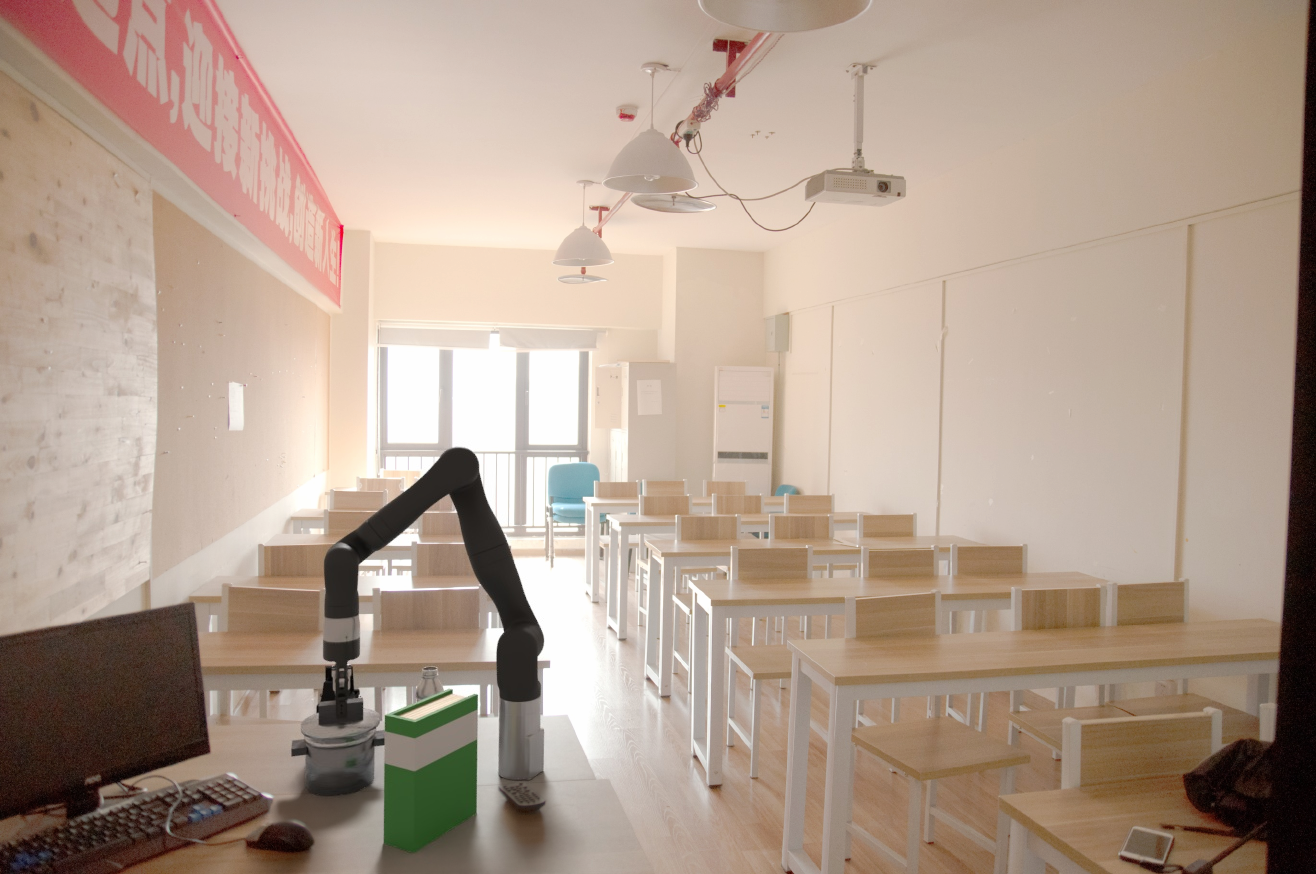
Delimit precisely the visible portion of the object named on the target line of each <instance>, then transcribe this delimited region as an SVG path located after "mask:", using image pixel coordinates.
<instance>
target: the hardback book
mask: <svg viewBox="0 0 1316 874" xmlns="http://www.w3.org/2000/svg"><path fill="white" fill-rule="evenodd" d="M453 690H454V689H452V688H448V689H444V691H442V692H440V693H437V694H435V695H432V696H430V697H428V698H425V699H423V700H420V701H418V702H413V703H411V704H408V705H406V706H404V707H401V708H398V709H396V710H394V711H391V712H389V713H387V714H384V730H385V745H384V751H383V753H384V754H383V756H384V758H383V760H384V762H383V765H384V766H383V769H384V770H383V777H384V779H383V844H385V845H387V846H391V847H394V848H396V849H400V850H403V851H406V852H410V853H412V854H415V853H417V852H418V851H420V850H422V849H423V848H424V847H426V846H428V845H429V844H431V843H432V842H434V841H436V840H437V839H439V838H440V837H442V836H443V835H445V834H446V833H448V832H449V831H451V830H453V829H455V828H456V827H457V826H460V825H461V824H462V823H464V822H465V821H467V820H468V819H470V818H472V817H473V816H474V815H476V814H477V812H478V810H477V808H478V805H477V804H478V803H477V802H478V798H477V797H478V796H477V795H478V733H479V732H478V731H479V730H478V723H479V720H478V719H479V718H478V717H479V715H478V713H479V712H478V711H479V694H477V693H473V694H471V695H469V696H464V695H460V694H454V693H453V692H454V691H453Z"/></svg>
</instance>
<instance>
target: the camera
mask: <svg viewBox="0 0 1316 874" xmlns="http://www.w3.org/2000/svg"><path fill="white" fill-rule="evenodd" d="M324 666H325V668H324V669H325V670H324V671H325V672H324V673H325V674H324V675H325V676H324V677H325V681H323V685H322V692H321V693H320V694H319V697H320V701H319V702H325V701H335V691H334V690H333V677H332V666H333V665H324ZM353 667H354V666H353V665H351V676H350V689H349V690H348V699H354V698H362V695H360V693H361V691H360V688H355V681H354V669H353ZM359 695H360V696H359ZM319 702H318V703H317V705H316V707H315V708H316V713H319ZM316 713H315V714H316Z"/></svg>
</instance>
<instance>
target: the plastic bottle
mask: <svg viewBox="0 0 1316 874" xmlns="http://www.w3.org/2000/svg"><path fill="white" fill-rule="evenodd" d="M438 677H439V667H437V666H425V667H422V668H421V679H420V682H418V684H417V686H416V688H415V692H414V693H415V701H416V702H418V701H420V700H423V699H425V698H428V697H430V696H432V695H435V694H437V693H440V692H442V691H445V689H444V686H443V684H442V683H441V681H440V680H439V678H438Z"/></svg>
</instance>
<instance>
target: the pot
mask: <svg viewBox="0 0 1316 874" xmlns="http://www.w3.org/2000/svg"><path fill="white" fill-rule="evenodd" d="M382 746H383V747H385V729H381V730H377V727H376V728H375V729H374V730H372V731H370V732H368V733H365V734H362V735H359V736H355V737H350V738H345V739H336V740H320V739H313V738H309V737H306V736H304V735H303V738H302V739H293V740H291V748H290V749H291V753H290V755H291V757H293V758H294V757H299V756H304V758H305V761H304V762H305V764H304V765H305V766H304V767H305V768H304V769H305V771H304V773H305V774H304V775H305V776H304V777H305V778H304V780H305V781H304V784H305V785H304V787H305V790H306V791H307V792H308V793H310V794H312V795H315V796H320V797H336V796H337V797H338V796H345V795H348V794H354V793H357V792H359V791H362V790H363V789H366V788H367V787H369V786H371V785H372V783H373V782H374V780H375V757H376V755H375V749H376V747H382Z"/></svg>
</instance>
